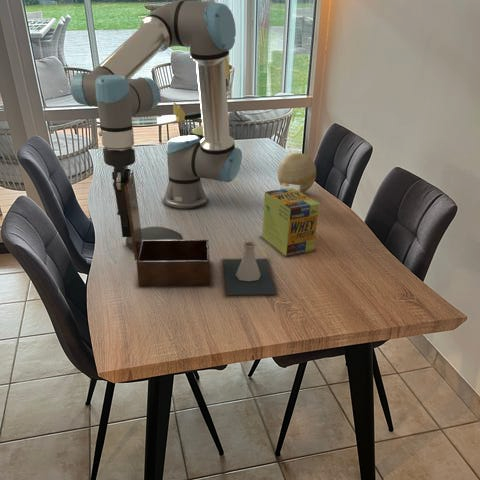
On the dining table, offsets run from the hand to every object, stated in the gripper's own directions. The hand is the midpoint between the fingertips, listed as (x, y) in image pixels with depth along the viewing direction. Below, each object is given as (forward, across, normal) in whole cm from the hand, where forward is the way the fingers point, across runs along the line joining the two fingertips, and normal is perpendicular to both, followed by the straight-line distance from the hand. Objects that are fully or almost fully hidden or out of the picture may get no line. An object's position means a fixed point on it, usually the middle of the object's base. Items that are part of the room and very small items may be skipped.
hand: (127, 235), depth 136 cm
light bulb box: (+12, -39, +50) cm, 65 cm away
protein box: (+12, -19, +47) cm, 52 cm away
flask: (+12, +2, +33) cm, 35 cm away
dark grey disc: (+12, -19, +5) cm, 23 cm away
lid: (-6, 0, +3) cm, 7 cm away
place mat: (+12, +2, +33) cm, 35 cm away
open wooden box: (+12, 0, +12) cm, 17 cm away
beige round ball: (+12, -65, +57) cm, 87 cm away
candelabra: (+12, -92, +23) cm, 96 cm away
